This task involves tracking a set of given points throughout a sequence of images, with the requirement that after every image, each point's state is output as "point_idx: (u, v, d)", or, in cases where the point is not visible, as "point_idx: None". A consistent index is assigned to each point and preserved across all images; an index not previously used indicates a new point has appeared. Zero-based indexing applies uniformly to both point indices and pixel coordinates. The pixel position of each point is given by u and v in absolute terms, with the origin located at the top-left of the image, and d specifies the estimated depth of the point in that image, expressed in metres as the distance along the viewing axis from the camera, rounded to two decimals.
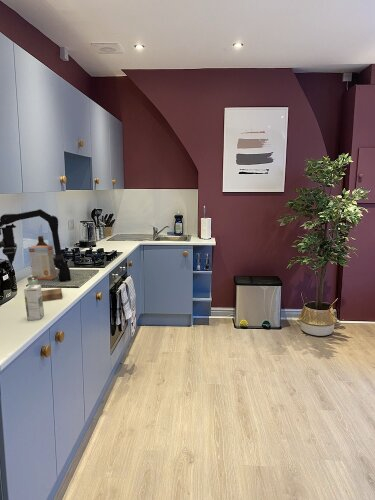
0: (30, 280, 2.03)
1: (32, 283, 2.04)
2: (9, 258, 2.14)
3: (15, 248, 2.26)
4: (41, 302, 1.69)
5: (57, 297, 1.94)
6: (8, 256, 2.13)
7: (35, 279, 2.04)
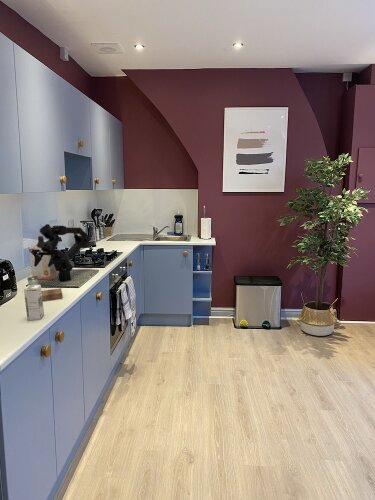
0: (30, 280, 2.03)
1: (32, 283, 2.04)
2: (51, 261, 2.12)
3: None
4: (41, 302, 1.69)
5: (57, 297, 1.94)
6: (53, 258, 2.12)
7: (35, 279, 2.04)
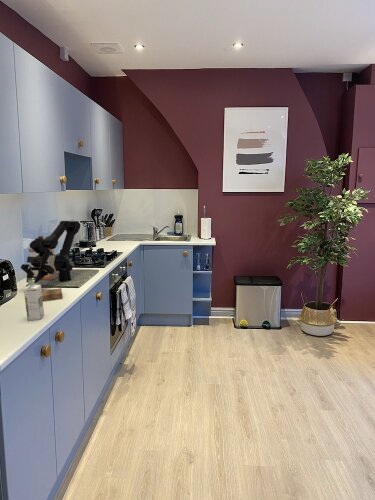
0: (30, 280, 2.03)
1: (32, 283, 2.04)
2: (38, 277, 2.05)
3: None
4: (41, 302, 1.69)
5: (57, 297, 1.94)
6: (40, 274, 2.05)
7: None
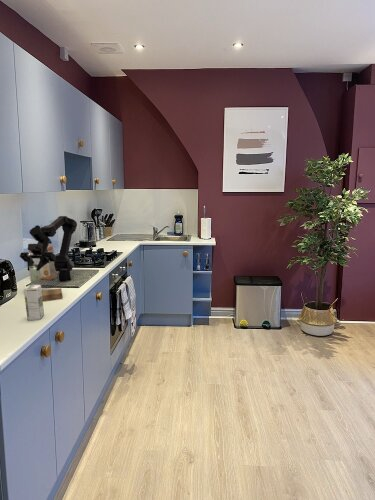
0: (32, 268, 1.99)
1: (34, 271, 1.99)
2: (40, 264, 2.01)
3: None
4: (41, 302, 1.69)
5: (57, 297, 1.94)
6: (42, 261, 2.01)
7: None
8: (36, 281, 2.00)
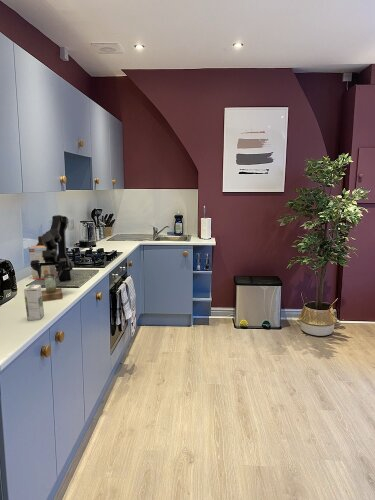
0: (49, 278, 1.94)
1: (51, 281, 1.95)
2: (60, 270, 1.97)
3: (36, 269, 2.00)
4: (41, 302, 1.69)
5: (57, 297, 1.94)
6: (61, 268, 1.97)
7: (54, 276, 1.96)
8: (53, 291, 1.96)
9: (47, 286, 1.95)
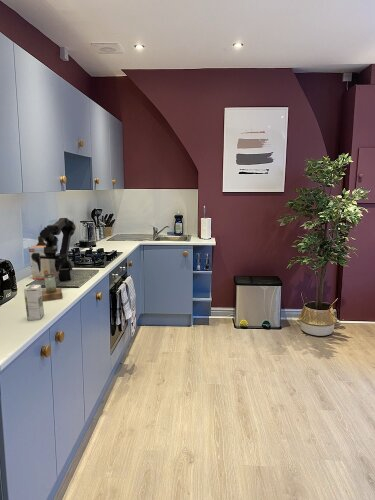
0: (49, 278, 1.94)
1: (51, 281, 1.95)
2: (59, 266, 2.09)
3: (36, 261, 2.10)
4: (41, 302, 1.69)
5: (57, 297, 1.94)
6: None
7: (54, 276, 1.96)
8: (53, 291, 1.96)
9: (47, 286, 1.95)
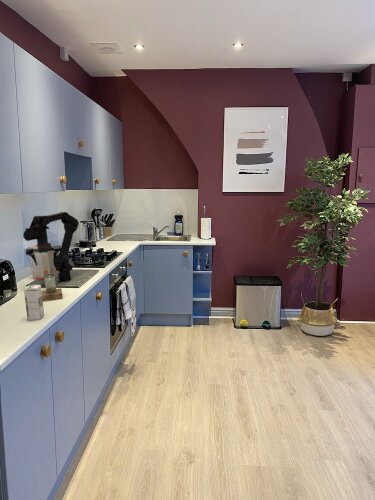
0: (49, 278, 1.94)
1: (51, 281, 1.95)
2: (55, 258, 2.18)
3: None
4: (41, 302, 1.69)
5: (57, 297, 1.94)
6: None
7: (53, 276, 1.96)
8: (53, 291, 1.96)
9: (47, 286, 1.95)
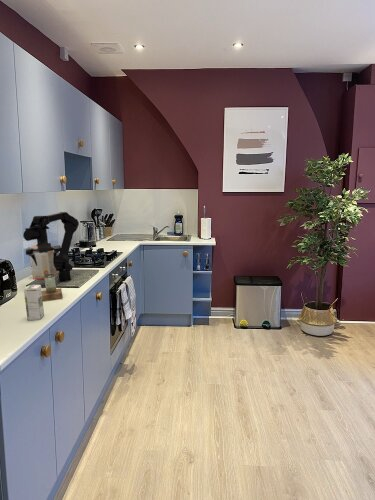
0: (49, 278, 1.94)
1: (51, 281, 1.95)
2: (55, 258, 2.18)
3: None
4: (41, 302, 1.69)
5: (57, 297, 1.94)
6: None
7: (54, 276, 1.96)
8: (53, 291, 1.96)
9: (47, 286, 1.95)
